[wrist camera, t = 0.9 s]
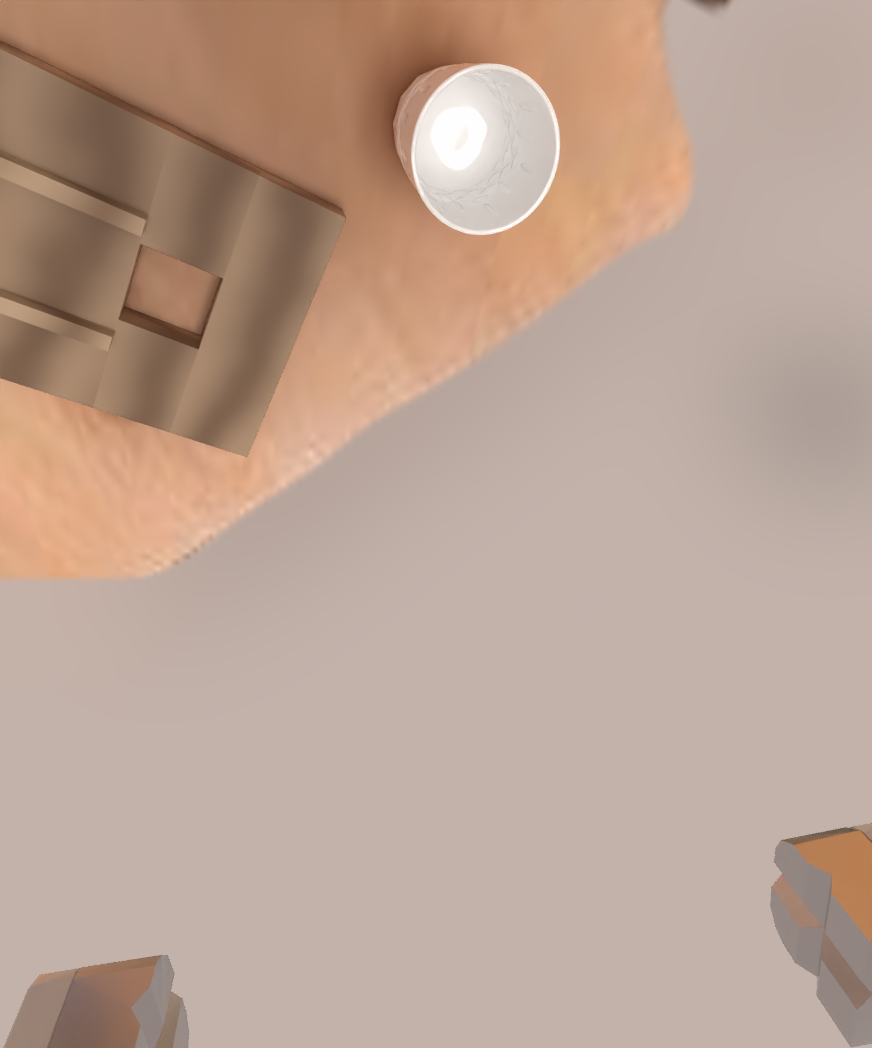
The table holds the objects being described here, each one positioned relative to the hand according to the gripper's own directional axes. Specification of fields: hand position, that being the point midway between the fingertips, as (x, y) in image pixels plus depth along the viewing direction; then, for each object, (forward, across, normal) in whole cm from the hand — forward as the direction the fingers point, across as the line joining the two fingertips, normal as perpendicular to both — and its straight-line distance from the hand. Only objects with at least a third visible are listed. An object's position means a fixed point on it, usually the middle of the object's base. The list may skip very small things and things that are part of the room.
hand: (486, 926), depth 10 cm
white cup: (+44, -7, -15) cm, 47 cm away
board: (+43, +18, -11) cm, 48 cm away
